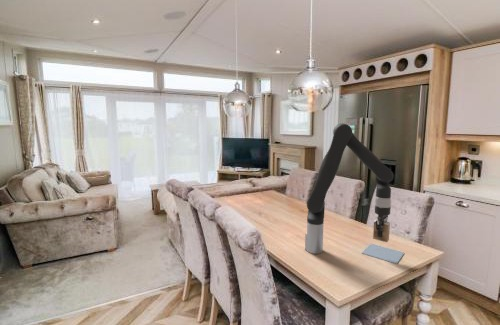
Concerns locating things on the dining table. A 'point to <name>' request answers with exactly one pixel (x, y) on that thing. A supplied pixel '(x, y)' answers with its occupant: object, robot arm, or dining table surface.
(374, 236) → the slab
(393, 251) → the mat
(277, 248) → the dining table surface
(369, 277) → the dining table surface
